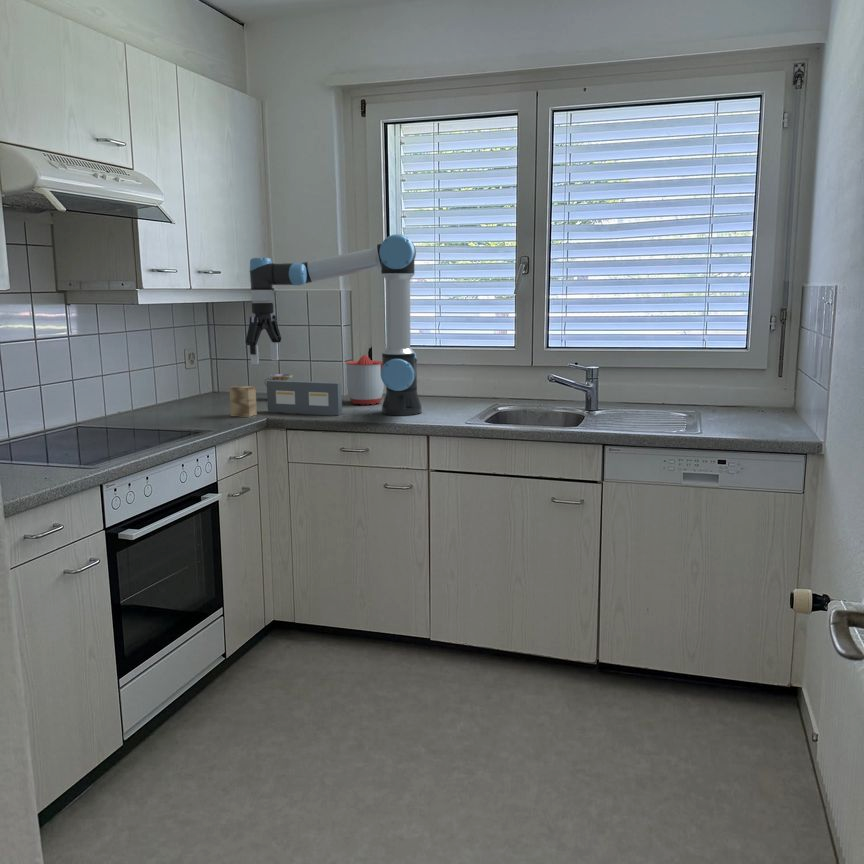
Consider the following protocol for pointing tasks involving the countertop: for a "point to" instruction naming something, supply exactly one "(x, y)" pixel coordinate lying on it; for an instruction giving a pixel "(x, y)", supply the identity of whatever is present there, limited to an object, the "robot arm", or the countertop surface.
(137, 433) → the countertop surface
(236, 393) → the oak block
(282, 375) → the mug
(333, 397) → the panel
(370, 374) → the citrus juicer
